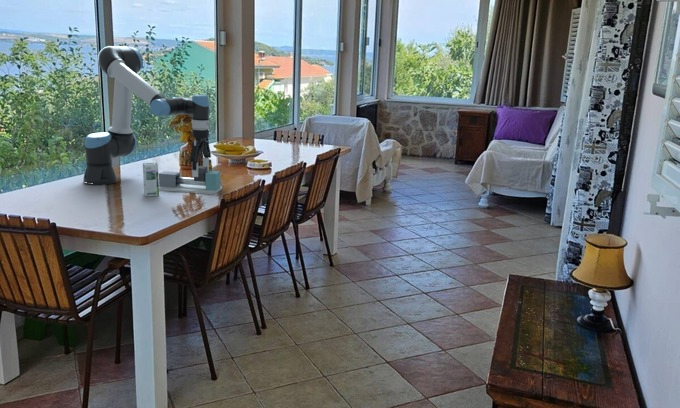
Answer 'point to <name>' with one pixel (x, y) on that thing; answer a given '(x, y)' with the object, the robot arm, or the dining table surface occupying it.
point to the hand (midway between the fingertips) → (200, 173)
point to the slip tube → (196, 180)
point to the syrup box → (151, 179)
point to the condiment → (209, 164)
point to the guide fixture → (169, 184)
